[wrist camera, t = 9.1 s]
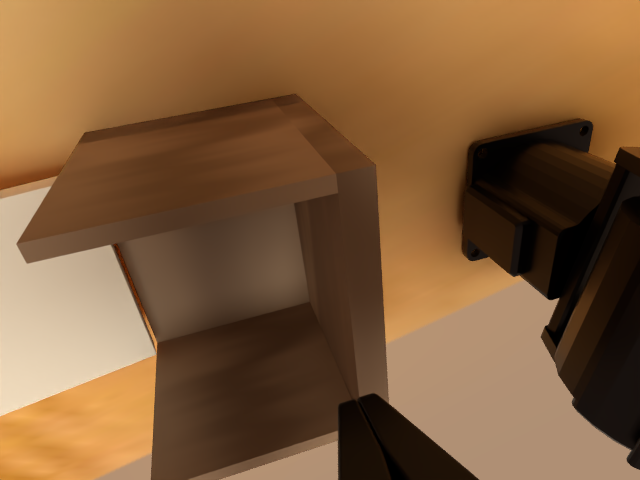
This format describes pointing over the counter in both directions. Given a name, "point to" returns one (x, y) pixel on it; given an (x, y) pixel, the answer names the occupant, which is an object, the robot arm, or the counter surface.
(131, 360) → the cabinet door
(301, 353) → the open wooden box
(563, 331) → the robot arm
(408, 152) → the counter surface
